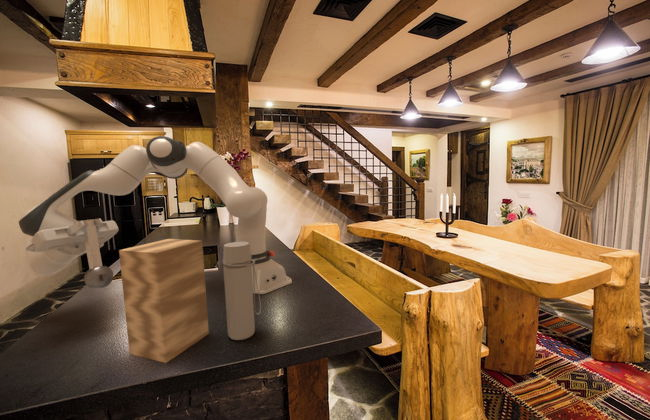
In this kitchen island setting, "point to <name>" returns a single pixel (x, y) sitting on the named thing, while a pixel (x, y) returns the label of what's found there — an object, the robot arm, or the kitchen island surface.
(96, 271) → the ratchet wrench
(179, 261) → the wooden block
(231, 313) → the water bottle
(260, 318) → the kitchen island surface
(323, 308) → the kitchen island surface
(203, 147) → the robot arm
